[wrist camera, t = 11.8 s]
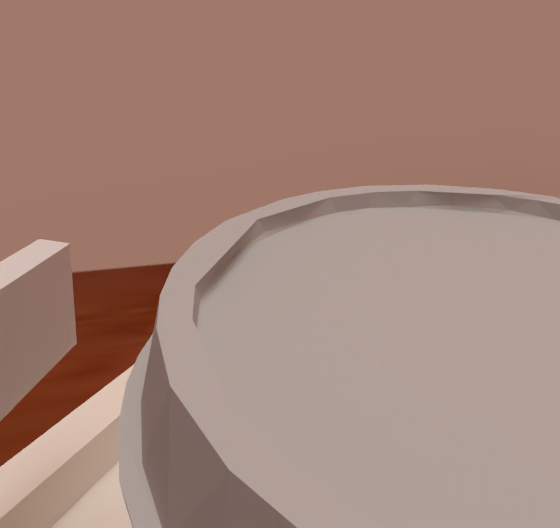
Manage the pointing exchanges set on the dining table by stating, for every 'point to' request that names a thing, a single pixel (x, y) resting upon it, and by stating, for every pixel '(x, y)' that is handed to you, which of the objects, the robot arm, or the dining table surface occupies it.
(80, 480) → the cream tray
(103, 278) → the dining table surface
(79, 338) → the dining table surface
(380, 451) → the disposable coffee cup
